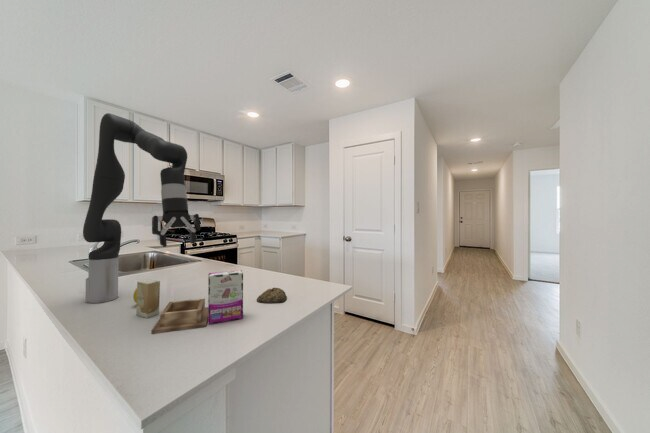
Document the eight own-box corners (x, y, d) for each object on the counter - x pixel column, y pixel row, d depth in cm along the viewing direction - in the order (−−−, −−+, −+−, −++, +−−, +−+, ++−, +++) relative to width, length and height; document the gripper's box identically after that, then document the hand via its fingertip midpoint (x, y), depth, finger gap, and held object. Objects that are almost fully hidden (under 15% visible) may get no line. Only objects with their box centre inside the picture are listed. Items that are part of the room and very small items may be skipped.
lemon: (141, 308, 93) (141, 287, 93) (129, 307, 94) (129, 286, 94) (154, 303, 98) (154, 283, 98) (142, 302, 99) (143, 282, 99)
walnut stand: (151, 333, 74) (151, 317, 74) (164, 314, 88) (164, 300, 88) (206, 326, 79) (206, 311, 79) (210, 309, 93) (210, 296, 93)
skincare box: (135, 315, 87) (136, 281, 86) (148, 311, 91) (148, 278, 90) (147, 318, 84) (147, 283, 84) (160, 314, 88) (160, 280, 88)
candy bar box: (241, 313, 90) (241, 269, 90) (243, 319, 86) (243, 272, 85) (207, 319, 85) (208, 272, 85) (207, 325, 80) (208, 275, 80)
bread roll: (284, 305, 100) (284, 292, 100) (254, 304, 101) (254, 292, 101) (289, 294, 113) (289, 284, 113) (262, 293, 113) (263, 283, 113)
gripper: (193, 200, 92) (197, 243, 91) (147, 200, 82) (151, 248, 81) (200, 196, 87) (204, 241, 86) (152, 196, 77) (157, 247, 76)
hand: (179, 245), depth 84 cm, fingers open, 8 cm apart
